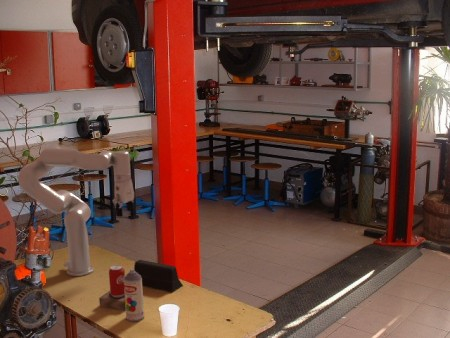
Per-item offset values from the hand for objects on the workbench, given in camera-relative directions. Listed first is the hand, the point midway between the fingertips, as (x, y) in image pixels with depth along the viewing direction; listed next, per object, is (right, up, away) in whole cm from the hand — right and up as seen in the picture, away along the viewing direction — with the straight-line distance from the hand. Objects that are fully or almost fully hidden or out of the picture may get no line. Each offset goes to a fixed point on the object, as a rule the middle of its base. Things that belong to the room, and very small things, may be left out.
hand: (125, 213), depth 260 cm
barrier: (+16, -31, -12) cm, 37 cm away
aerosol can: (+12, -37, -44) cm, 59 cm away
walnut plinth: (+4, -35, -31) cm, 46 cm away
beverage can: (+3, -31, -33) cm, 45 cm away
